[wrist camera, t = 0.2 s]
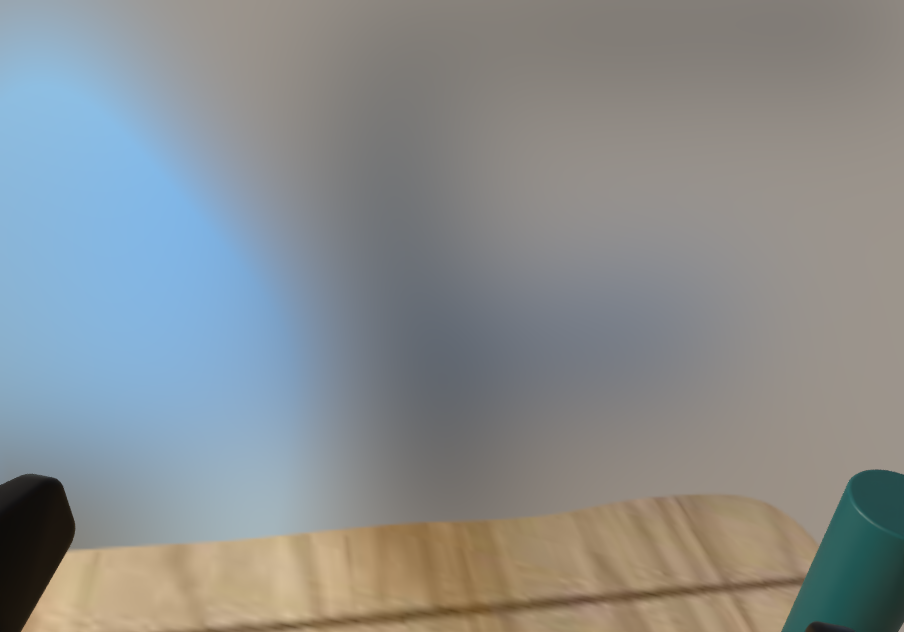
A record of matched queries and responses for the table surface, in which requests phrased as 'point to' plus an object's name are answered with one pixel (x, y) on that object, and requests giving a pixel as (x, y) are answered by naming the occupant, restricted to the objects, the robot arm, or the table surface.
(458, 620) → the table surface
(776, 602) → the table surface
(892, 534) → the teal green rod
